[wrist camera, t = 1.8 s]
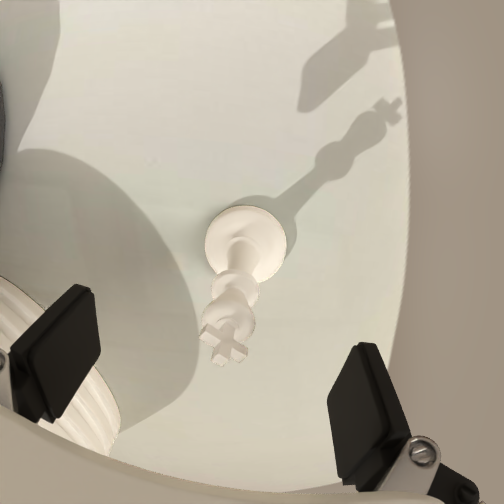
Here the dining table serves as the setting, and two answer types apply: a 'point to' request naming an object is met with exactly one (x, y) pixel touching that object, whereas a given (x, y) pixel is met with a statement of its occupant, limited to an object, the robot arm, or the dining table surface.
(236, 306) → the chess piece
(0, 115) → the grey faceted round tub
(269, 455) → the dining table surface
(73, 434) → the plate stack
